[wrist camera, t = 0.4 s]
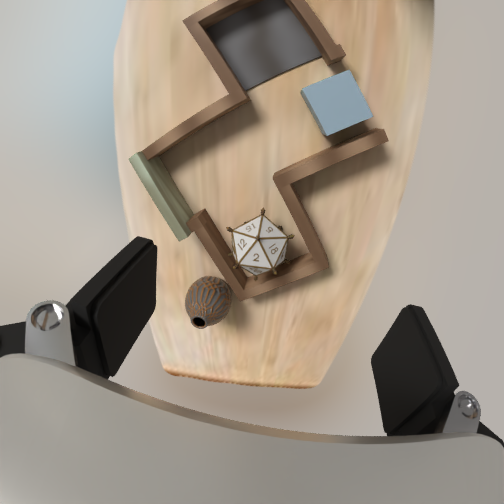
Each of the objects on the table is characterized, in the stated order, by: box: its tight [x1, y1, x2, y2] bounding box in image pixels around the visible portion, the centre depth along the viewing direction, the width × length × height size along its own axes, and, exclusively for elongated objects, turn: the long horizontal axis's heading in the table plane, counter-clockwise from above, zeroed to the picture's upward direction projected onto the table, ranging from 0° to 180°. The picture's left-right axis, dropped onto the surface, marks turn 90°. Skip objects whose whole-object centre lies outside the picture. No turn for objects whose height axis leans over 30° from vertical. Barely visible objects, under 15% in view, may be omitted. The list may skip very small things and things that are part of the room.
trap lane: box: [129, 0, 389, 301], centre depth 32 cm, size 30×38×5 cm
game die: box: [226, 208, 295, 282], centre depth 36 cm, size 9×8×10 cm
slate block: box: [301, 70, 373, 136], centre depth 28 cm, size 6×6×5 cm
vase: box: [185, 276, 231, 329], centre depth 41 cm, size 7×7×9 cm
